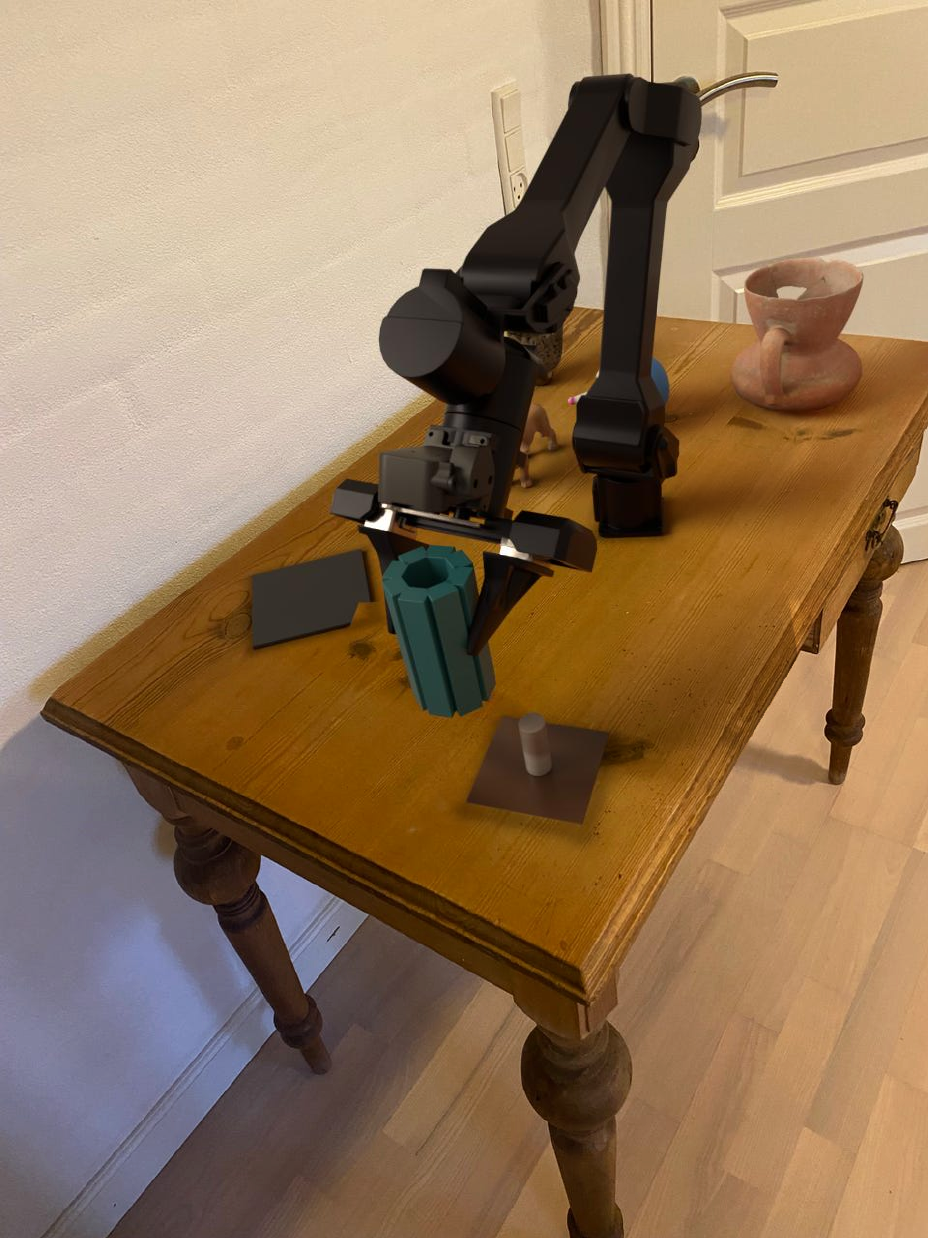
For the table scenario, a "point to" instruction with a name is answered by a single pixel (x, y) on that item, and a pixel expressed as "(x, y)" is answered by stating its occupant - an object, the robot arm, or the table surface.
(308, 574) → the mat
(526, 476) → the lion figurine
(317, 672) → the table surface
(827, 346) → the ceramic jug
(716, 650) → the table surface
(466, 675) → the sleeve
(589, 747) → the peg stand
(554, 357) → the cup
